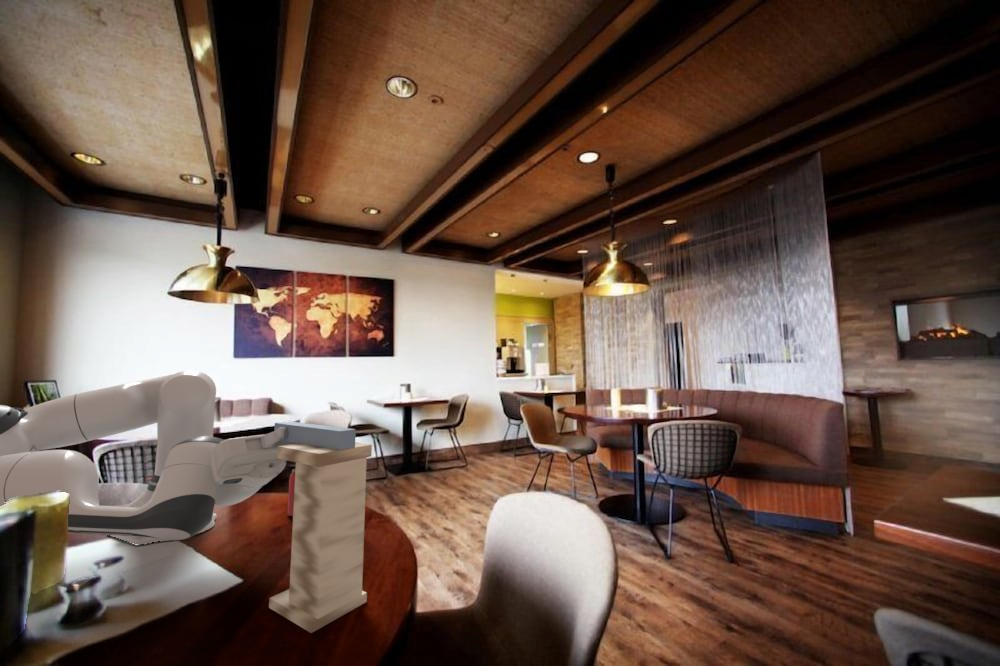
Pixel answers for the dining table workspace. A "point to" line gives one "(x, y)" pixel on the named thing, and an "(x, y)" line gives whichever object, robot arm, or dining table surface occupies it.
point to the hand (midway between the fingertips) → (296, 429)
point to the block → (319, 435)
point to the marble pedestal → (325, 534)
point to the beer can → (291, 493)
